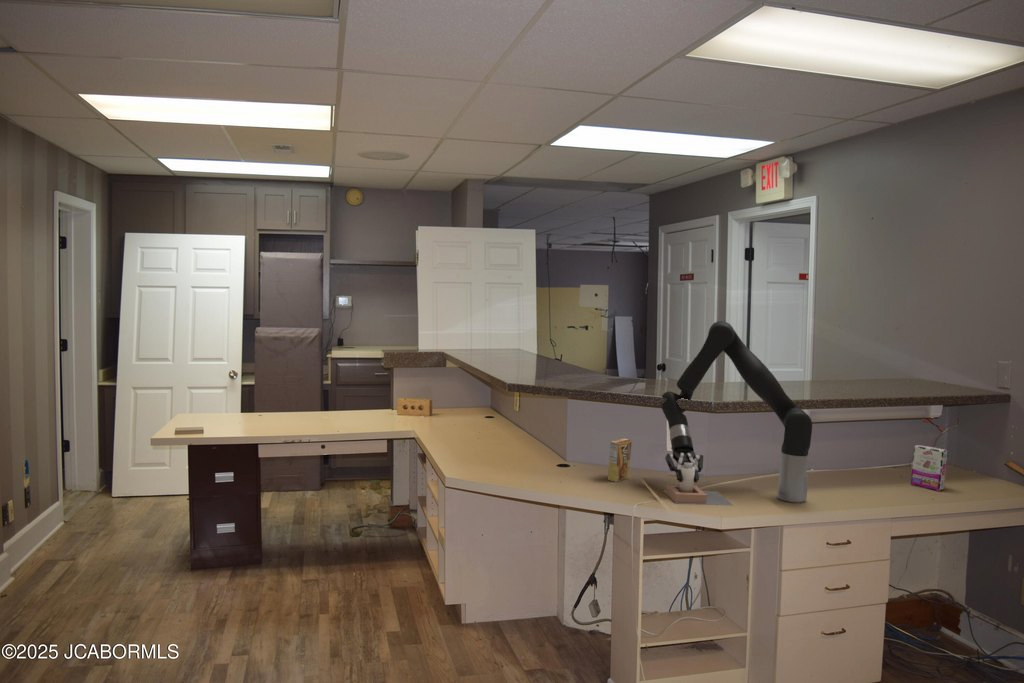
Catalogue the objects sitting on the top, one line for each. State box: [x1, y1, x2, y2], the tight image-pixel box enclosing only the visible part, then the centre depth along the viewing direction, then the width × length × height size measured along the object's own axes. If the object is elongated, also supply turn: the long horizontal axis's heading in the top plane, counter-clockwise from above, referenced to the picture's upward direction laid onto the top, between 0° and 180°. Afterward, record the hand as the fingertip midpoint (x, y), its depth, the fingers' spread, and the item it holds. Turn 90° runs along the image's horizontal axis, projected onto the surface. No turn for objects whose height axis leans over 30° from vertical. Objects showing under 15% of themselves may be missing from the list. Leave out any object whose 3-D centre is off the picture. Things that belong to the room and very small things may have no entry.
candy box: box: [607, 438, 633, 483], centre depth 289 cm, size 9×4×15 cm, turn 137°
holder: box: [662, 484, 734, 506], centre depth 267 cm, size 21×16×4 cm
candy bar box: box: [910, 444, 948, 492], centre depth 300 cm, size 11×5×16 cm, turn 40°
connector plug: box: [678, 462, 695, 493], centre depth 265 cm, size 5×5×10 cm
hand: (688, 481), depth 263 cm, fingers closed on connector plug, 5 cm apart
